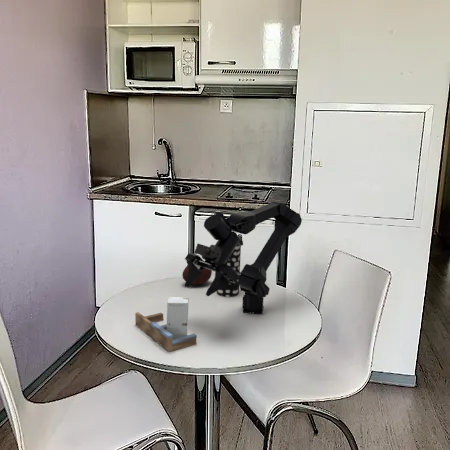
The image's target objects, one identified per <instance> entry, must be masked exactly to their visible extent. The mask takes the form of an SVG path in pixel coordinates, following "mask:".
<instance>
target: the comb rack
mask: <svg viewBox="0 0 450 450" xmlns="http://www.w3.org/2000/svg"><path fill="white" fill-rule="evenodd" d="M160 321H164V313H163V312H157V313H154V314H149V315H146V316H144V315H143V314H141V313H140V312H139V311H137V312H135V326H136V327H138V328H139V329H140V330H141V331H142V332H144V333H145V334H147V336H149V337H150V338H151V339H152V340H154V341H155V342H156V343H157V344H158V345H160V346H161V347H162V348H164V350H166V351H167V352H168V353H170V352H175V351H176V350H181V349H183V348H187V347H190V346H194V345H197V338H198V335H197V334H195V333H192V334H187V336H183V337H180V338H176V339H173V340H172V338H173V335H172V334H171V333H169V332H168V331H167V323H166V324H163V325H160V324H159V323H158V322H160Z"/></svg>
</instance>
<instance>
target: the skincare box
mask: <svg viewBox="0 0 450 450" xmlns="http://www.w3.org/2000/svg"><path fill="white" fill-rule="evenodd" d="M188 321H189V298H188V297H178V296H177V297H176V296H175V297H173V296H172V297H171V296H169V297H168V300H167V305H166V324H167V331H168V332H169V333H171V334H172V335H173V338H172V340H173V339H176V338H180V337H183V336H187V335H188V327H189V326H188V324H189V323H188Z"/></svg>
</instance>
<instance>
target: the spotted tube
mask: <svg viewBox="0 0 450 450" xmlns="http://www.w3.org/2000/svg"><path fill="white" fill-rule="evenodd" d="M241 249H242V246H241V245H238V244H237V246H236V247H235V249H234V251H233V252H232V254H231V255H230V256H231V258H232V259H231V261H230V260H227V262H226V263H225V264H226V265H229V266H232V268H233V269H234V270H235V271H236V272H237V273H238V274H239V276H240V272H241V253H242V252H241ZM231 283H232V282H231ZM216 294H217V295H218V296H221V297H226V298H233V297H236V296H239V294H240V286H239V282H238V280H237V282H236V283H232V284H231V285H230V284H229V285H227V286H225V287H223V288H221V289H219V290H218V291H216Z"/></svg>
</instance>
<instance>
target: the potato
mask: <svg viewBox="0 0 450 450" xmlns="http://www.w3.org/2000/svg"><path fill="white" fill-rule="evenodd" d="M209 267H210V266H209ZM188 271H189V266H188V264H187V265H186V266H185V268H184V269H183V271H182V275H181V276H182V279H183V280H184V281H185V282H186V280H187V276H188ZM201 272H202V274H201V275H200V276H199V277H198V278H197V279H196V280H195V281H194V282H193V283H192V284H191V285H193V286H194V285H195V286H196V285H197V286H198V285H203V284H206V283H207V282H208V281H209V280H210V279H211V277H212V273H213V271H212V270H209V269H206V268H204V270H202V271H201Z"/></svg>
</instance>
